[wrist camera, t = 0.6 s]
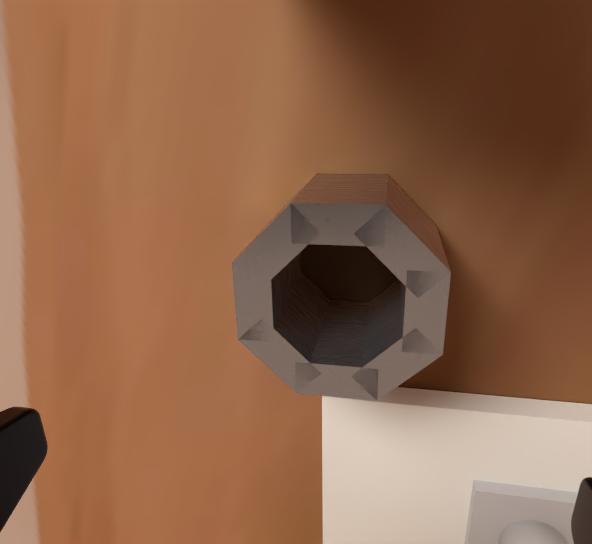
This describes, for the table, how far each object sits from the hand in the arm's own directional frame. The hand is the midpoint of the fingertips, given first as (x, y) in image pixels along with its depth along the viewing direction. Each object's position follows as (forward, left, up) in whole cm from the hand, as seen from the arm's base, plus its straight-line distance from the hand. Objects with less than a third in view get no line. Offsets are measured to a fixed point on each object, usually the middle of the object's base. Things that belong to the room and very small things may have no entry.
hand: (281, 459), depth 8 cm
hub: (0, +1, -12) cm, 12 cm away
